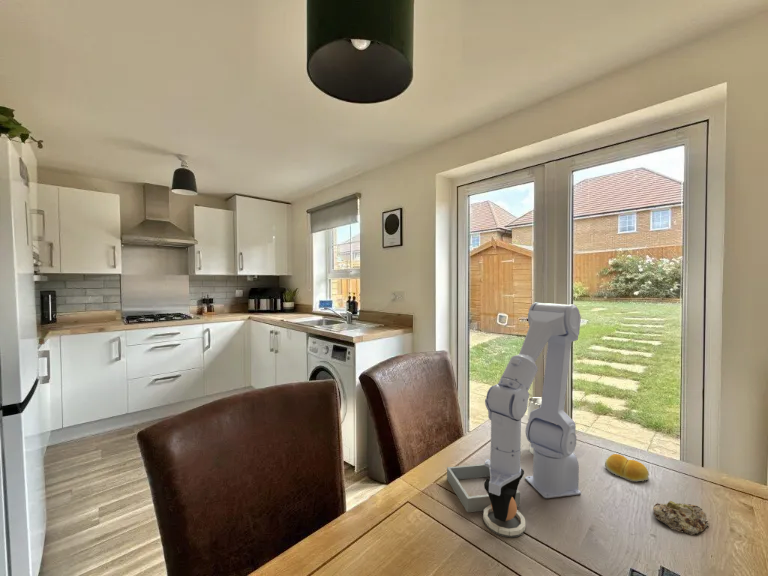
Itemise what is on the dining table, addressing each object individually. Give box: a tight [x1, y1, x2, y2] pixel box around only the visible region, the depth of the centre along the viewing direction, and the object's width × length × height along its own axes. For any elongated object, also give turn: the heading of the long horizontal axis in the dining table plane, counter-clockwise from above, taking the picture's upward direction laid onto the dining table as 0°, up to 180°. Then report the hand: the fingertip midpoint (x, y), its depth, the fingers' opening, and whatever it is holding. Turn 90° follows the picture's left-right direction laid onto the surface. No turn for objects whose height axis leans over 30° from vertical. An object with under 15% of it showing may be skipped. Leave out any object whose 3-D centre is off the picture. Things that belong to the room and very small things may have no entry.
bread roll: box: [604, 453, 650, 482], centre depth 88 cm, size 8×9×4 cm
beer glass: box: [527, 396, 542, 455], centre depth 98 cm, size 7×7×15 cm
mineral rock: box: [652, 500, 709, 535], centre depth 71 cm, size 11×4×8 cm
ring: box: [482, 505, 526, 538], centre depth 70 cm, size 8×8×1 cm
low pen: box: [446, 463, 521, 513], centre depth 80 cm, size 12×12×3 cm
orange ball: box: [491, 497, 518, 521], centre depth 70 cm, size 5×5×5 cm
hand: (504, 511), depth 70 cm, fingers closed on orange ball, 5 cm apart
